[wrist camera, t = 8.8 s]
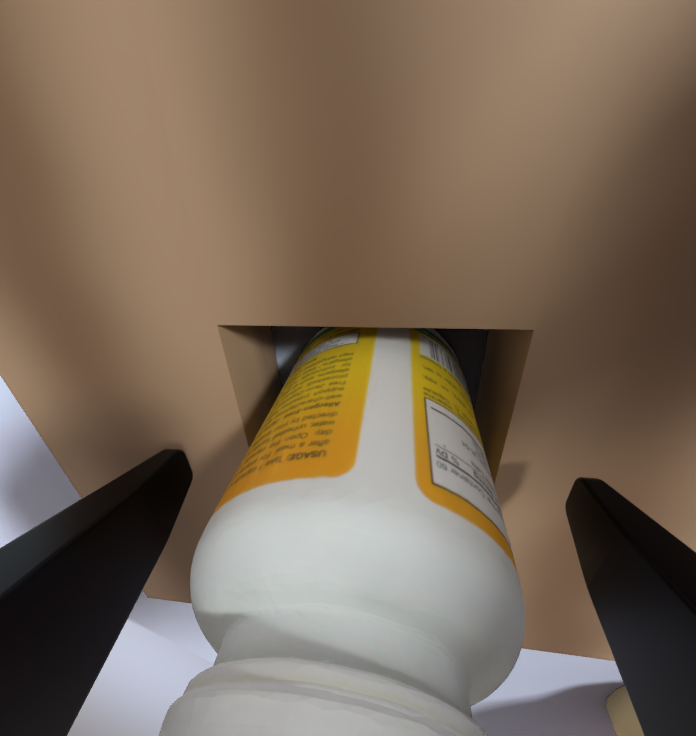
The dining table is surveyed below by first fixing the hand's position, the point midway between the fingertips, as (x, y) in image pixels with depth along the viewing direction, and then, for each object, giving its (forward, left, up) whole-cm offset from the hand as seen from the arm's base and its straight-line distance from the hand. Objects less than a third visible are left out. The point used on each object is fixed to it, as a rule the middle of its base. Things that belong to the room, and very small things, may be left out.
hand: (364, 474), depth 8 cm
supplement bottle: (0, 0, -4) cm, 4 cm away
